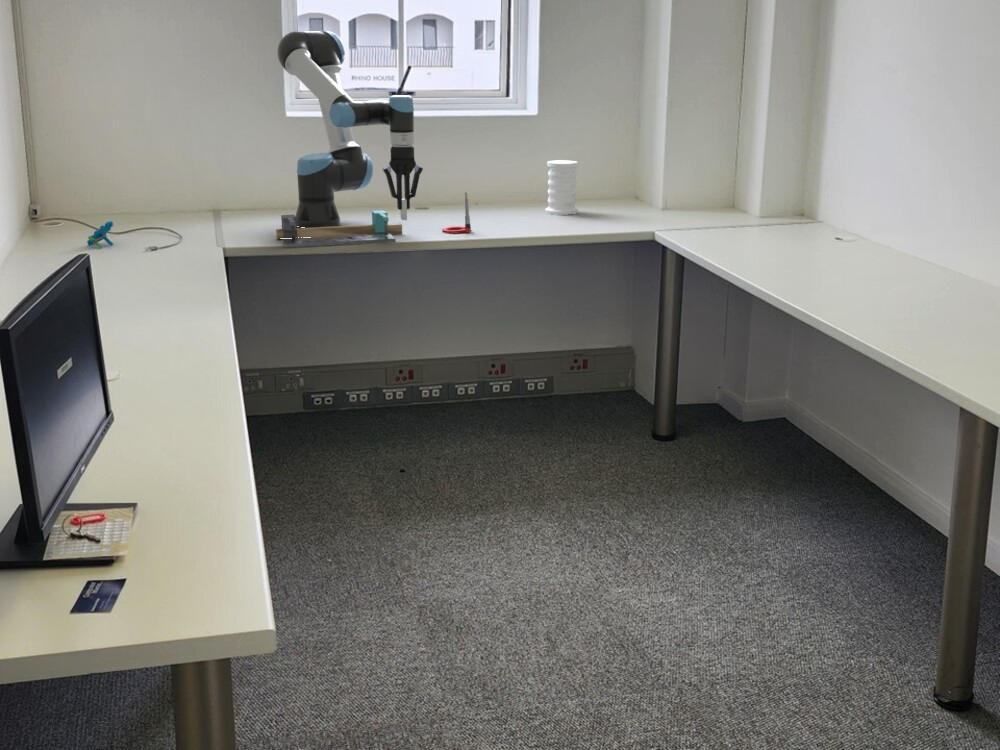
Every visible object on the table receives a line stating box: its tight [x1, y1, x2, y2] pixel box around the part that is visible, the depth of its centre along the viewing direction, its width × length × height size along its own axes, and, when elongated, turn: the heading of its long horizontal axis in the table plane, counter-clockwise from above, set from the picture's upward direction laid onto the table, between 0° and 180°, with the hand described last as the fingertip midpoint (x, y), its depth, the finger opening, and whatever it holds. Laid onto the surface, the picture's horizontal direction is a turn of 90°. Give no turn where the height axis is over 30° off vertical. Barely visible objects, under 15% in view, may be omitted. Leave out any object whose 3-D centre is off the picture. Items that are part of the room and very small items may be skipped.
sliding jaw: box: [371, 210, 389, 235], centre depth 360 cm, size 12×4×6 cm, turn 17°
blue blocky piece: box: [86, 220, 114, 250], centre depth 343 cm, size 11×6×10 cm
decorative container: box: [544, 159, 579, 216], centre depth 403 cm, size 12×12×18 cm
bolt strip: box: [281, 233, 397, 249], centre depth 351 cm, size 9×34×1 cm, turn 107°
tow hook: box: [442, 191, 472, 234], centre depth 368 cm, size 8×13×9 cm
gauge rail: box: [275, 214, 403, 240], centre depth 356 cm, size 12×40×7 cm, turn 107°
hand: (403, 219), depth 365 cm, fingers closed
